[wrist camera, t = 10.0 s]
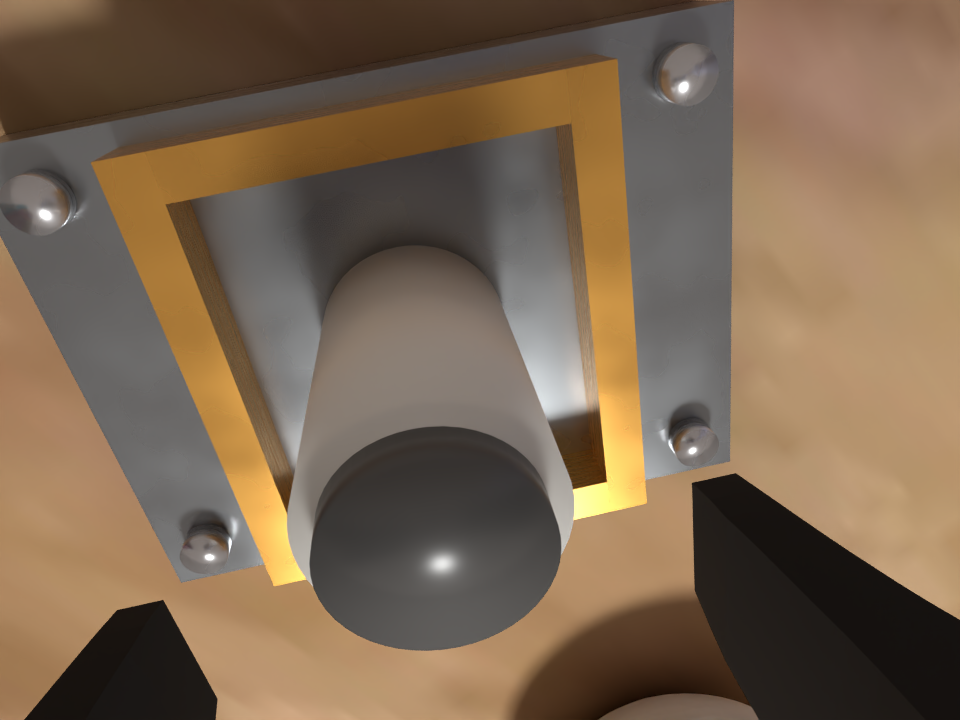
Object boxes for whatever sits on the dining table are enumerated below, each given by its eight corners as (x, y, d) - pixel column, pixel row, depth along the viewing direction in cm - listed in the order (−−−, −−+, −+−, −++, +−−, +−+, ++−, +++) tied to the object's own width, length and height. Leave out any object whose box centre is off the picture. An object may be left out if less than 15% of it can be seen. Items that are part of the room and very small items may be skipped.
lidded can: (490, 229, 16) (575, 404, 9) (515, 391, 18) (599, 635, 11) (301, 265, 16) (236, 471, 9) (348, 424, 18) (325, 693, 11)
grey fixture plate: (694, 0, 16) (770, -1, 13) (701, 424, 22) (754, 493, 19) (4, 134, 15) (-90, 167, 12) (197, 534, 21) (166, 625, 18)
